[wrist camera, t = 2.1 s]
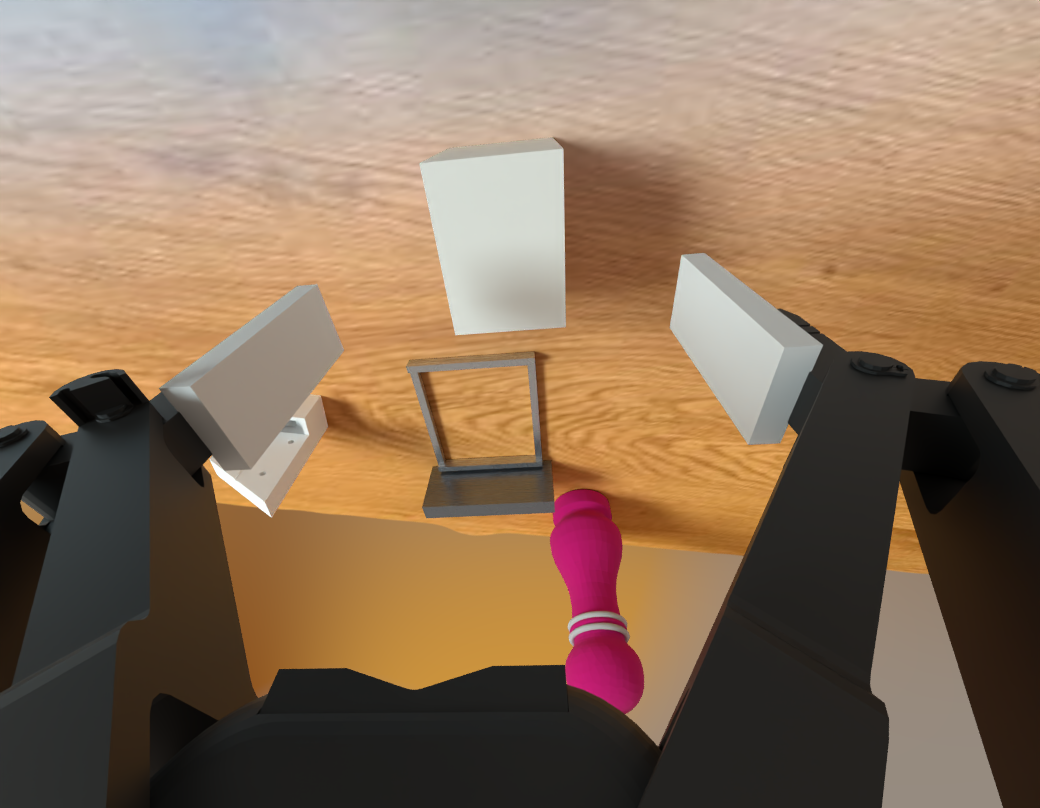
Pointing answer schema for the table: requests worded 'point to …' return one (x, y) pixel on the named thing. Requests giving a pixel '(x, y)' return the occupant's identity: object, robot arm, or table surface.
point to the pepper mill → (595, 600)
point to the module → (500, 233)
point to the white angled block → (280, 458)
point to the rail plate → (484, 479)
